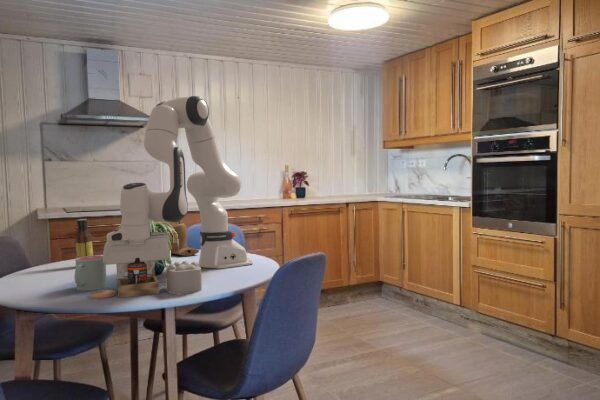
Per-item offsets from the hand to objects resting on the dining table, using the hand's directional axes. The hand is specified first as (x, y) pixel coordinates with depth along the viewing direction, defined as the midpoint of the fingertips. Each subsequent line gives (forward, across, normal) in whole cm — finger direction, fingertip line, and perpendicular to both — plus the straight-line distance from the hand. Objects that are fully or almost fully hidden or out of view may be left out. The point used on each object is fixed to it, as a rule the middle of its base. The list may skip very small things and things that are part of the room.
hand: (137, 275), depth 150 cm
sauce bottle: (+5, +17, -56) cm, 58 cm away
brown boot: (+5, -24, -66) cm, 70 cm away
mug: (+5, +15, -12) cm, 20 cm away
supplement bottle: (+5, 0, 0) cm, 5 cm away
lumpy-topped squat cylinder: (+5, -14, +3) cm, 15 cm away
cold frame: (+5, 0, -2) cm, 6 cm away
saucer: (+5, +10, 0) cm, 12 cm away
